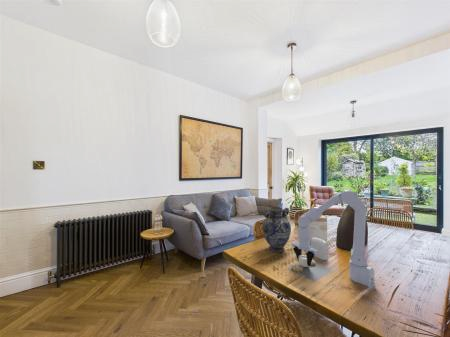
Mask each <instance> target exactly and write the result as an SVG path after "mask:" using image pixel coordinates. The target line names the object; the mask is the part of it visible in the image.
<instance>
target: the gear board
mask: <svg viewBox="0 0 450 337" xmlns="http://www.w3.org/2000/svg"><path fill="white" fill-rule="evenodd" d="M286 269H288V270H290V271H292V272H294V273H296V274H298V275H300V276H303V277H304V278H307V279H309V280H311V281H313V282H315V281H318V280H320V279H322V278H323V277H326V276H327V275H328V274H330V273H333V272H334V269H331V268H329V267H327V266H323V265H321V264H319V263H317V261H316V260H315V259H312V262H311V265H310V266H308V267H303V266H301V265H299V263H298V262H297V263H294V264H291V265H290V266H288V267H286Z"/></svg>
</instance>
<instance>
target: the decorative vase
mask: <svg viewBox="0 0 450 337" xmlns="http://www.w3.org/2000/svg"><path fill="white" fill-rule="evenodd" d="M289 214H290V208H289V207H284V208H282V207H278V206H272V207H270V208H269V209H265V210H263V217H265V218H264V220H263V222H262V234H263V238H264V239H265V241H266V242H267V244H268V245H269V246H268V250H269V251H271V252H272V253H273V252H274V253H282V252H285V246H286V244H287V243H288V241H289V239H290V237H291V233H292V232H291V231H292V226H291V223H290V221H289V219H288V215H289Z"/></svg>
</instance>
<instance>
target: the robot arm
mask: <svg viewBox="0 0 450 337" xmlns="http://www.w3.org/2000/svg"><path fill="white" fill-rule="evenodd" d="M342 203H344V204H346V205H347V206H349V207H350V208H351V209H353V210H354V220H353V221H354V223H353V224H354V225H353V241H352V242H353V243H352V247H351V249H350V259H349V279H350V280H351V281H353V282H355V283H357V284H361V285H364V286H366V287H364V289H365V290H367V291H368V290H370V289H372V288H373V287H374V286H376V283H375V269H374V268H373V267H371V266H369V265H368V258H367V254H366V247H365V245H366V244H365V243H366V226H367V225H366V224H367V223H366V221H367V207H366V205H365V203H364V202H363V200H361V198H360V196H359V195H358V194H357V192H355V191H353V190H352V189H349V188H347V189H343V190H342V191H341V192H338V193H336V194H334V195H333V196H332V197H330V198H328V199H327V200H326V201H324V202H323V203H322V204H321V205H319V206H313V207H310V208H309V209H308V210H307V211H306V212H303V213H302V215H301V216H299V218H298V219H297V225H298V230H297V231H298V233H297V234H298V236H297V237H298V241H297V242H295V241H293V242H291V247H293V252H294V254H295V256H296V259H297V261H298V256H299V255H302V251H306V252H305V255H306V256H307V265H308V266H310V265H311V262H312V260H314V257H315V256H314V255H316V254H318V250H316V249H314V248H312V247H311V244H310V230H309V224H310V223H312V222H314V221H315V220H317V219H318V218H320V217H321V216H323V213H324V212H325V211H327V210H328V209H330V208H331V207H332V206H335V205H341V204H342Z"/></svg>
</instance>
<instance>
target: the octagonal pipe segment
mask: <svg viewBox="0 0 450 337" xmlns="http://www.w3.org/2000/svg"><path fill="white" fill-rule="evenodd" d="M297 263H299V265H301V266H303V267H308V265H307V256H306V254H301V255H299V256H298V260H297Z"/></svg>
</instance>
